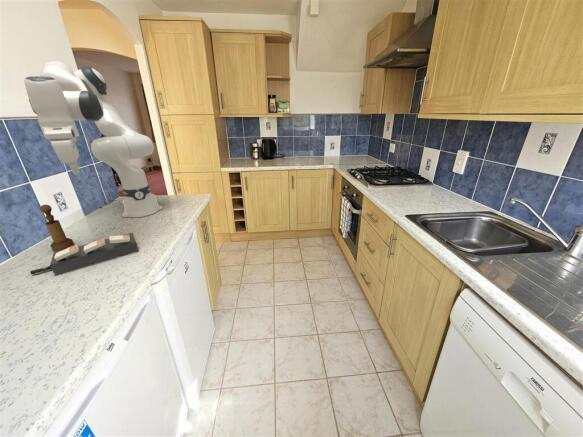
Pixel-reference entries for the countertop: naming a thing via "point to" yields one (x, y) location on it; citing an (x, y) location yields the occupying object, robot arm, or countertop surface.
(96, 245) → the rocker middle
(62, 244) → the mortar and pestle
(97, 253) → the power strip
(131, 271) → the countertop surface
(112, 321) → the countertop surface
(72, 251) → the rocker
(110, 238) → the block
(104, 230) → the countertop surface
